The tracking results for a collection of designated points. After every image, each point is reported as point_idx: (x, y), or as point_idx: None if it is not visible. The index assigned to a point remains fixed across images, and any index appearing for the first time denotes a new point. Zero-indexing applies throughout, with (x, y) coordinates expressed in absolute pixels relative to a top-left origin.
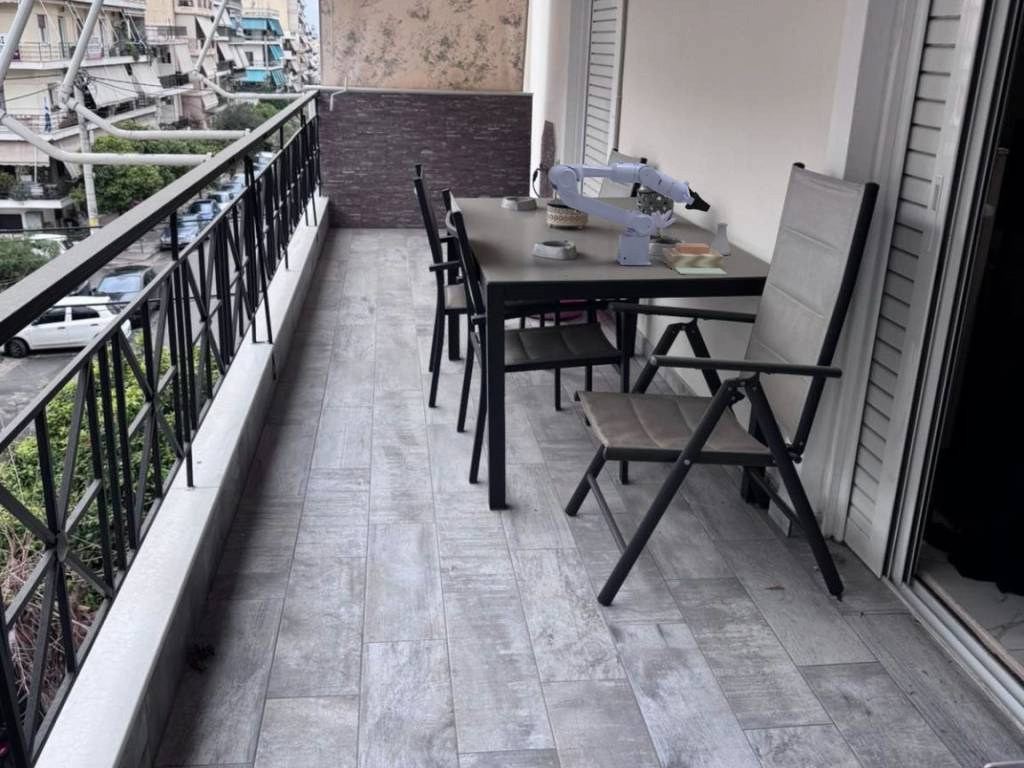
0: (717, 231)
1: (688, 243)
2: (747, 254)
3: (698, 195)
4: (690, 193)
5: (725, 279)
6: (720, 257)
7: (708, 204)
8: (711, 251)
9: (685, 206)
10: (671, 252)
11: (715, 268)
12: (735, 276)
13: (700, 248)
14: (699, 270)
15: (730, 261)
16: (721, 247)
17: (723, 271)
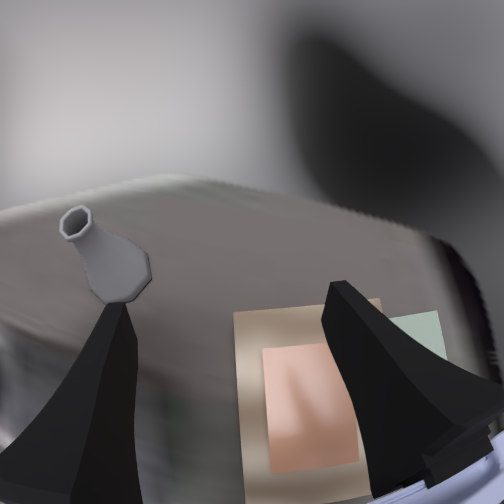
0: (85, 251)
1: (273, 421)
2: (132, 200)
3: (498, 386)
4: (107, 424)
5: (477, 322)
6: (380, 311)
7: (359, 294)
8: (291, 328)
9: (384, 494)
10: (338, 489)
11: None
12: (439, 290)
13: None
14: None
15: (231, 264)
16: (134, 263)
17: (414, 317)
